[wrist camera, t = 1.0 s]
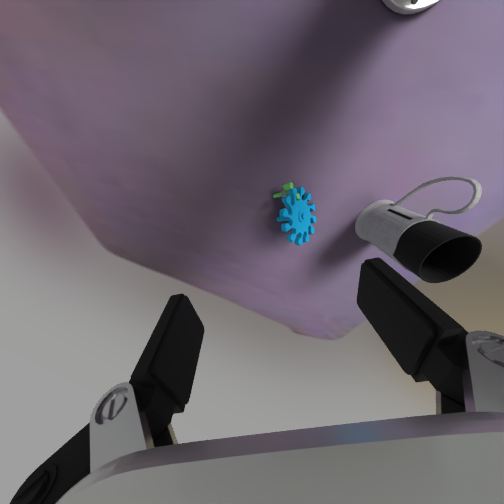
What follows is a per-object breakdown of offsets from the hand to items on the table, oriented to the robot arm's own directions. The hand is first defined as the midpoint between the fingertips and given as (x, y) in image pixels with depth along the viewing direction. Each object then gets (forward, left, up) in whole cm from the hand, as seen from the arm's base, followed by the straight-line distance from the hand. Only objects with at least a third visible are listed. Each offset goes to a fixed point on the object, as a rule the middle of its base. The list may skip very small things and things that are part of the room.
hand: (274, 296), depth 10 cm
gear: (-5, +7, -27) cm, 28 cm away
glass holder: (-20, +16, -27) cm, 37 cm away
